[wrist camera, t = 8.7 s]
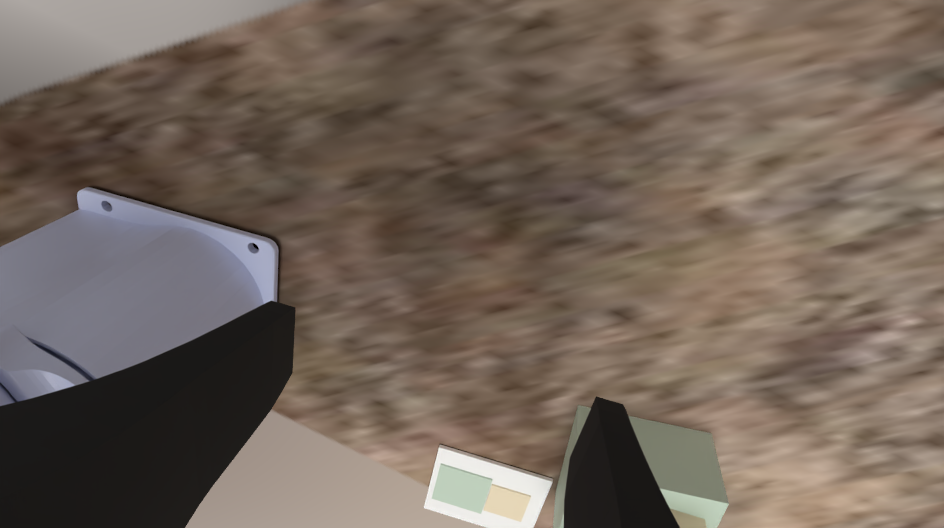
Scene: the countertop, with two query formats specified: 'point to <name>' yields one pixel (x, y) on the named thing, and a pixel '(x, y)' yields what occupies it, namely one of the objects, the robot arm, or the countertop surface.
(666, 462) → the sage base block
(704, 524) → the maple block
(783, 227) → the countertop surface
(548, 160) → the countertop surface
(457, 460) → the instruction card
